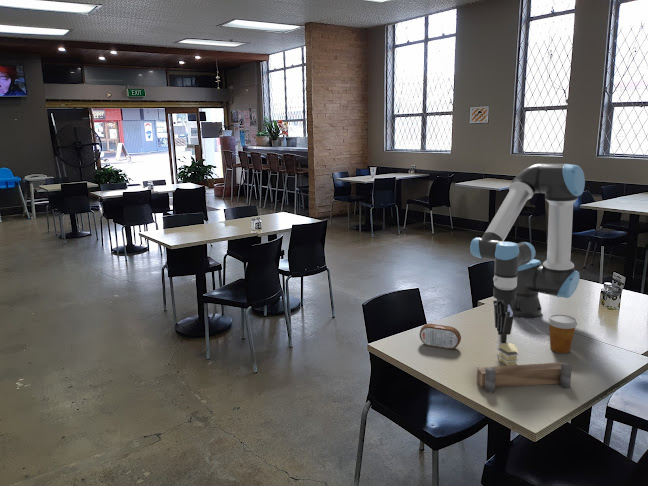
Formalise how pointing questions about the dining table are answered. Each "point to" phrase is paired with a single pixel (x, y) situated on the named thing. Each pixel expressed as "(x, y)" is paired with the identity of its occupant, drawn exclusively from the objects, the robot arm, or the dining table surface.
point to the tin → (440, 336)
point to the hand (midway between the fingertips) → (501, 349)
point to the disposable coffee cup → (561, 332)
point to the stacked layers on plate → (508, 354)
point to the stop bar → (524, 375)
